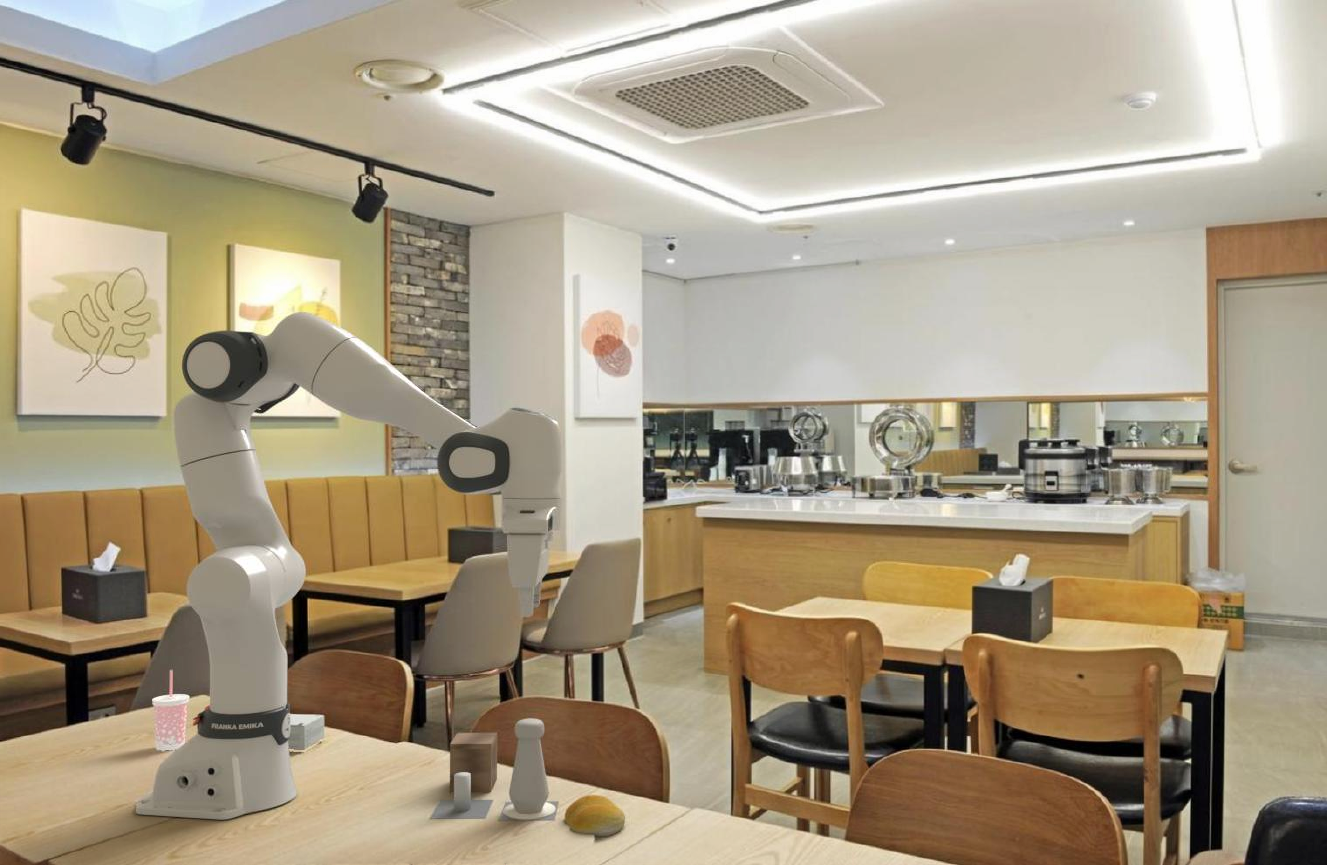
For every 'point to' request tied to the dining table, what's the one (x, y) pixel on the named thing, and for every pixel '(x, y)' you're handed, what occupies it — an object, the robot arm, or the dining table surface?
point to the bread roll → (595, 816)
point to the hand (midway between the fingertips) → (530, 611)
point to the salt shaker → (529, 769)
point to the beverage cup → (170, 719)
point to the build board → (545, 814)
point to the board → (470, 814)
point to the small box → (305, 731)
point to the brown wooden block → (475, 759)
